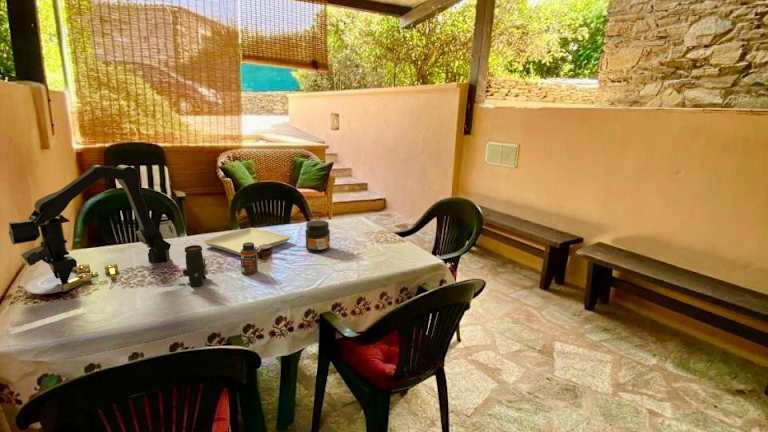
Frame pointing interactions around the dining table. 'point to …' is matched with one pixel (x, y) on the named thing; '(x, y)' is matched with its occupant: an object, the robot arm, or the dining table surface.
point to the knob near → (111, 270)
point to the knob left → (76, 281)
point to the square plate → (246, 239)
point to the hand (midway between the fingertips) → (61, 281)
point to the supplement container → (317, 236)
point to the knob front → (82, 268)
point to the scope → (195, 266)
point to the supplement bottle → (249, 259)
